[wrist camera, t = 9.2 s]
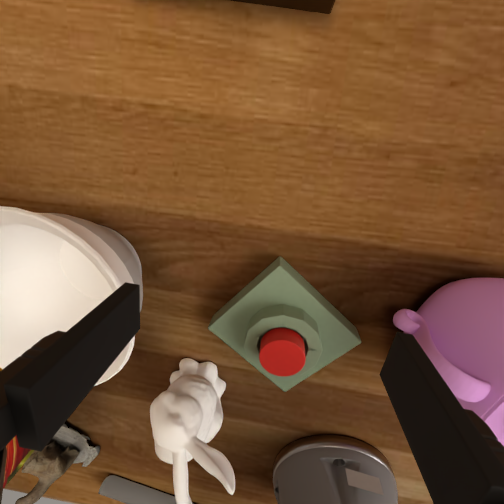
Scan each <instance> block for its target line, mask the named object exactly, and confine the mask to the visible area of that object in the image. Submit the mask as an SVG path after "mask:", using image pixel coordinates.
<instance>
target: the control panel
mask: <svg viewBox="0 0 504 504" xmlns="http://www.w3.org/2000/svg"><path fill="white" fill-rule="evenodd" d="M233 1H240V2H247V3H255V4H262V5H269V6H277V7H284V8H292V9H299V10H306V11H314V12H321V13H328V14H329V13H331V10H332V7H333V4H334V2H335V0H233Z"/></svg>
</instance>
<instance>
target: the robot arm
mask: <svg viewBox="0 0 504 504" xmlns="http://www.w3.org/2000/svg"><path fill="white" fill-rule="evenodd" d="M139 329H140V285H138V284H132V283H127V282H125V283H124V284H123V285H122V286H120V287H119V288H118V289H117V290H116V291H114V292H113V293H112V294H111V295H110V296H108V297H107V298H106V299H105V300H104V301H102V302H101V303H100V304H99V305H98V306H97V307H95V308H94V309H93V310H92V311H91V312H89V313H88V314H87V315H86V316H85V317H83V318H82V319H81V320H80V321H79V322H77V323H76V324H75V325H74V326H73V327H71V328H70V329H69V330H68V331H67V332H63V331H56V332H54V333H52V334H50V335H48V336H46V337H43V338H42V339H41V340H40V341H38V342H37V343H36V344H34V345H33V346H32V347H31V349H28V350H27V351H25V352H24V353H23V354H22V355H21V357H20V356H19V357H18V358H17V359H15V360H14V361H13V362H11V363H10V364H9V365H8V366H6V367H5V368H4V369H2V370H1V371H0V504H1V500H2V491H3V483H4V475H5V467H6V459H7V448H6V445H7V444H8V443H9V442H10V441H11V440H12V439H13V438H14V437H15V436H17V440H18V444H19V447H22V448H26V449H31V450H35V451H40V452H41V451H42V450H43V449H44V448H45V446H46V445H47V444H48V443H49V441H50V440H51V439H52V438H53V436H54V435H55V434H56V433H57V431H58V430H59V429H60V428H61V426H62V425H63V424H64V423H65V422H66V420H67V419H68V418H69V417H70V415H71V414H72V413H73V412H74V410H75V409H76V408H77V407H78V405H79V404H80V403H81V402H82V400H83V399H84V398H85V397H86V395H87V394H88V393H89V392H90V390H91V389H92V388H93V387H94V385H95V384H96V383H97V382H98V380H99V379H100V378H101V377H102V375H103V374H104V373H105V372H106V371H107V369H108V368H109V367H110V366H111V364H112V363H113V362H114V361H115V359H116V358H117V357H118V356H119V354H120V353H121V352H122V351H123V349H124V348H125V347H126V346H127V344H128V343H129V342H130V341H131V339H132V338H133V337H134V336H135V334H136V333H137V332H138V331H139ZM380 376H381V379H382V381H383V384H384V386H385V388H386V391H387V393H388V396H389V398H390V400H391V403H392V405H393V407H394V410H395V412H396V415H397V417H398V419H399V422H400V424H401V426H402V429H403V431H404V434H405V436H406V438H407V441H408V443H409V446H410V448H411V450H412V453H413V455H414V457H415V460H416V462H417V465H418V467H419V469H420V472H421V474H422V477H423V479H424V481H425V484H426V486H427V488H428V491H429V493H430V496H431V498H432V500H433V503H434V504H504V447H503V445H502V444H501V442H498V438H497V437H496V436H495V434H494V433H493V432H492V430H491V429H490V427H489V426H488V425H487V424H486V423H485V422H484V421H483V420H482V419H481V418H480V417H479V416H478V415H477V414H476V413H475V412H473V411H472V410H467V409H463V407H462V406H461V404H460V403H459V401H458V400H457V398H456V397H455V395H454V394H453V393H452V391H451V390H450V388H449V387H448V385H447V384H446V382H445V381H444V379H443V378H442V377H441V375H440V374H439V372H438V371H437V369H436V368H435V366H434V365H433V363H432V362H431V360H430V359H429V358H428V356H427V355H426V353H425V352H424V350H423V349H422V347H421V346H420V344H419V343H418V342H417V340H416V339H415V337H414V336H413V335H412V334H406V333H401V332H397V333H396V335H395V338H394V340H393V343H392V345H391V348H390V350H389V353H388V355H387V358H386V360H385V363H384V365H383V367H382V370H381V372H380ZM273 485H274V492H275V496H276V499H277V502H278V504H398V492H397V486H396V481H395V478H394V475H393V472H392V468H391V466H390V464H389V462H388V460H387V459H386V458H385V457H384V455H383V454H382V453H380V452H379V451H378V450H377V449H375V448H374V447H372V446H370V445H368V444H367V443H364V442H362V441H359V440H356V439H353V438H349V437H344V436H338V435H317V436H310V437H306V438H302V439H299V440H297V441H295V442H293V443H291V444H289V445H287V446H286V447H285V448H283V449H282V450H281V451H280V453H279V454H278V455H277V457H276V459H275V461H274V467H273Z"/></svg>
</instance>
